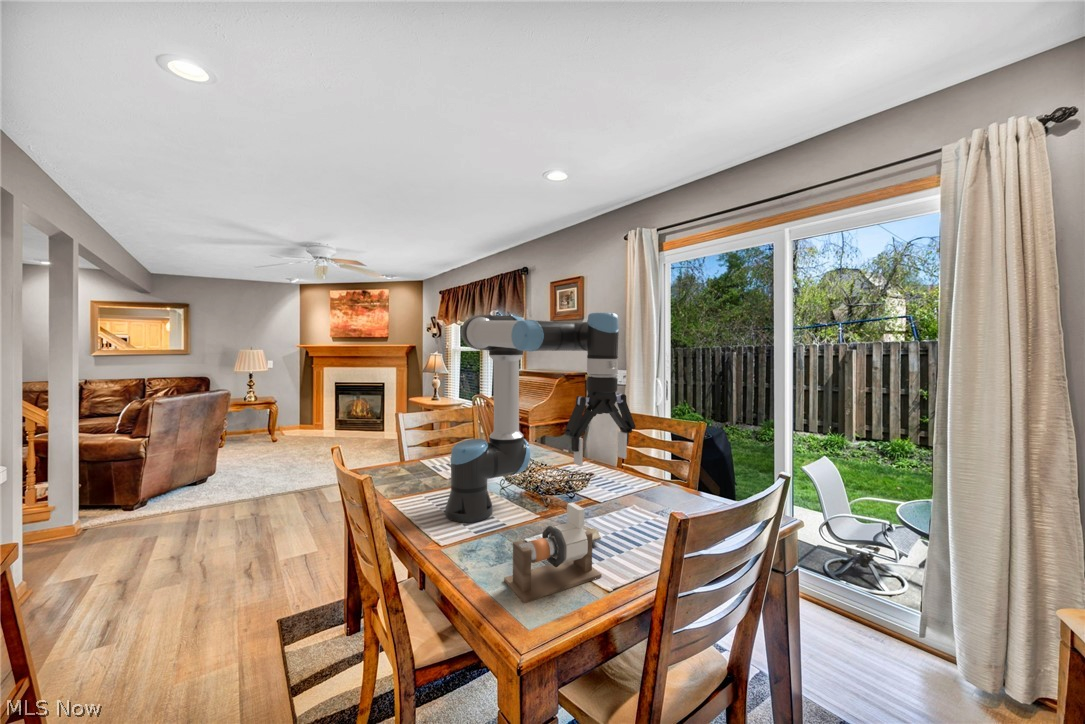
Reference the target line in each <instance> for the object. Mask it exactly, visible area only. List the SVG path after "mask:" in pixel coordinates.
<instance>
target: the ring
mask: <svg viewBox="0 0 1085 724" xmlns="http://www.w3.org/2000/svg"><path fill="white" fill-rule="evenodd" d="M550 533H551V534H552V535H554V537H555V539H556V542H557V545H558V558H557V559H555V558H553V557H550V558H548V559H546V560H547V561H548V563H550V564H552V565H553V566H554V567H558V566H559V565H560V564H561V563H562V562H563V561H564V543H563V541H562V538H561V536H560V533H559V531H557V530H556V529H555V528H553V526H552V525H547V527H546V528H545V529H544V530H543V532H542V533H541V534H542V535H541V536H542V537H541V538H547V537H549V534H550Z"/></svg>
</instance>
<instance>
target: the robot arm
mask: <svg viewBox="0 0 1085 724" xmlns="http://www.w3.org/2000/svg"><path fill="white" fill-rule="evenodd" d="M619 333H620V328H619V316H618V314H616V313H614V312H591V313H589V314H588V315H587V321H585V322H584V321H555V320H553V321H550V320H535V319H524V318H522V317H520V316H514V315H497V314H496V315H493V314H477V315H473V316H470V317H469V318H468V319H465V321H464V323H463V324H462V326H461V331H460V334H461V338H462V340H463V342H464V344H466V346H468V347H469V348H471V349H474V350H478V351H488V357H490V359H492V361H493V431H492V432H491V434H489V440H488V441H489V442H488V441H487V440H486V439H483V438H475V439H474V438H473V439H472V438H470V439H466V440H462V441H459V442H457V443H456V444H454V446H453V447H452V448H451V451H450V452H451V454H450V460H449V461H450V493H449V494H448V495H449V496H448V499H447V502H446V505H445V517H446V518H447V519H448V520H450V521H453V522H457V523H475V522H481V521H483V520H486V519H488V518H490V517H491V516H492V515H493V503H492V500H491V496H490V493H489V490H488V480H490V479H495V478H500V477H506V476H513V475H516V474H520V473H522V472H524V471H525V470H526V469H527V468H528V466H529V464H530V461H531V448H530V444H529V441H527V440H526V439H525V438H524V434H523V433H522V432H521V431H520V382H519V381H520V360H521V358H523V357H524V352H539V351H540V352H543V351H544V352H545V351H546V352H547V351H549V352H550V351H552V352H553V351H554V352H556V351H558V352H563V351H564V352H565V351H566V352H567V351H570V352H576V351H577V352H581V351H583V352H587V354H586V358H587V359H586V373H587V375H588V376H587V377H586V391H587V396H586V397H584V396H580V395H578V396H576V400H575V406H574V408H573V411H572V413H571V414H570V417H569V420H568V423H567V424H566V427H565V430H564V432H563V433H564V435H565V436H567V437H570V438H571V444H570V445H571V448H570V449H571V451H573V464H575V465H577V466H579V467H582V466H583V455H584V451H583V449H584V445H583V444H584V439H583V438H582V436H583V434H584V432H585V430H586V429H587V427H588V426H589V425H590V423H591V421H592V420H593V419H594V418H595V417H596V416H597V415H603V414H607V415H608V414H609V415H610V417H611V418H612V420H613V421H614V423H615V424H616V426H617V427H618V428H619V431H617V451H616V453H617V456H616V457H617V458H618V457H619V458H620V459H624V460H626V459H627V458H628V456H627V455H628V454H627V450H628V449H627V447H628V444H629V442H630V441H629V437H630V435H629V434H631V433H632V432H633V430H635V429H636V427H637V426H636V424H635V422H634V419H633V415H632V413H631V411H630V409H629V406H628V401H627V400H628V399H627V395H626V394H624V393H616V392H617V391H618V377H617V375H618V369H619V365H618V363H619ZM616 404H617V407H616ZM627 460H628V459H627Z"/></svg>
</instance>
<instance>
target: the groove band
mask: <svg viewBox="0 0 1085 724" xmlns="http://www.w3.org/2000/svg"><path fill="white" fill-rule="evenodd" d="M528 542H531V543H532V544H533V545H534V547H535V550H536V561H535V562H533V563H532V564H535V563H539V562H542V561H546V560H547V559H548V558H549V557H550V547H549V544H548V542H547V540H546V539H545V538H542V537H541V538H536V539H533V540H529V541H528Z"/></svg>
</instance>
